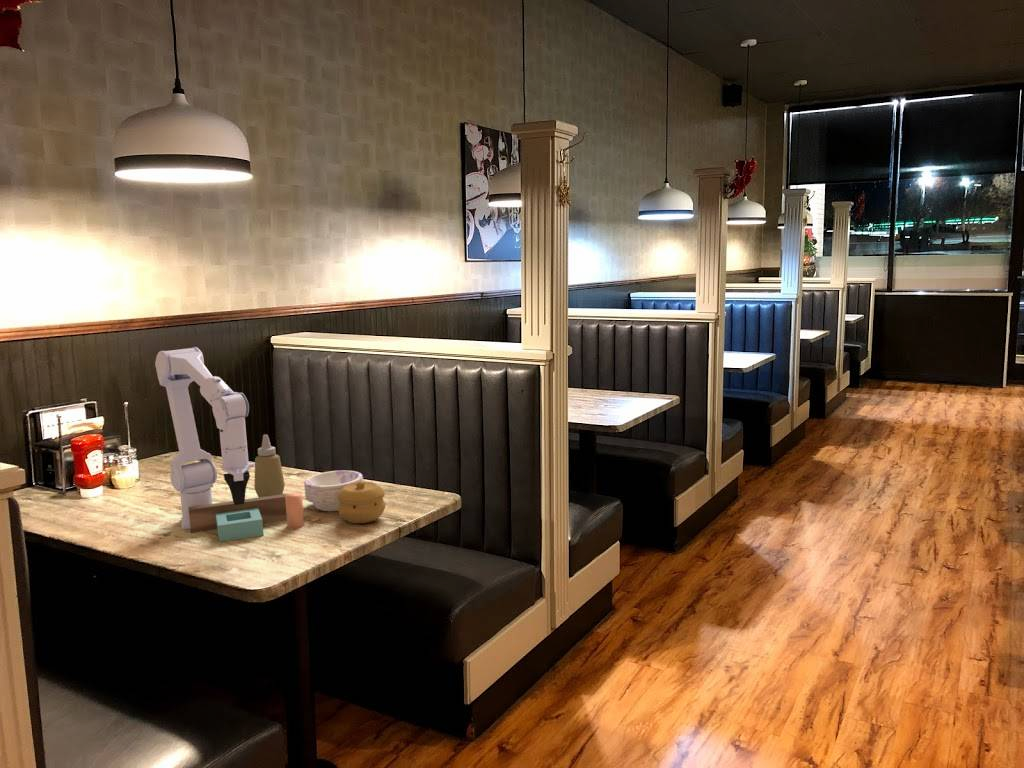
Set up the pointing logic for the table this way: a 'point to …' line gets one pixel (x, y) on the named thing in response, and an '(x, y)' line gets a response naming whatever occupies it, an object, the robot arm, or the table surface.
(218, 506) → the backstop wall
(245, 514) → the sliding block
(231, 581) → the table surface
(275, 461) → the squeeze bottle
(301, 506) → the dowel
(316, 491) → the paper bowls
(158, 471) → the table surface
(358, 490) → the pot
